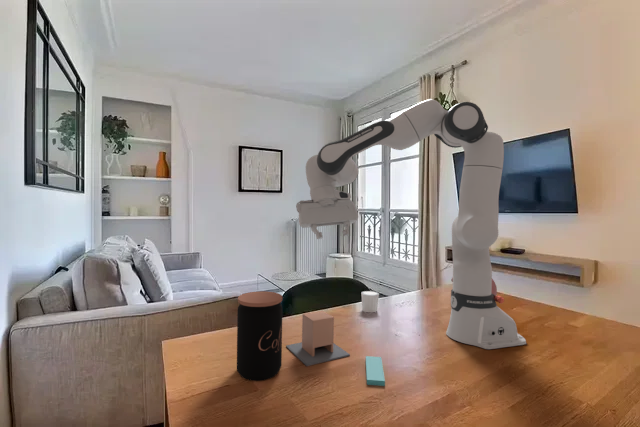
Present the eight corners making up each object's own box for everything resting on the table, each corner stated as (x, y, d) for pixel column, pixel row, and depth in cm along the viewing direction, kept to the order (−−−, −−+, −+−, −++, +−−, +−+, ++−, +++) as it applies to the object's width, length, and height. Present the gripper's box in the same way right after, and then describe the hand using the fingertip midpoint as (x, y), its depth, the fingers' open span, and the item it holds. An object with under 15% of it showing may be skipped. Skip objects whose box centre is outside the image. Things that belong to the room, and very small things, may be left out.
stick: (381, 363, 86) (381, 357, 86) (384, 388, 74) (384, 381, 74) (365, 362, 86) (365, 356, 86) (366, 386, 74) (366, 379, 74)
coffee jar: (260, 387, 72) (262, 305, 72) (226, 373, 78) (227, 298, 77) (290, 368, 81) (291, 295, 81) (257, 357, 87) (258, 289, 87)
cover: (321, 343, 95) (322, 310, 95) (333, 351, 90) (333, 317, 90) (301, 347, 92) (302, 313, 92) (312, 356, 87) (313, 320, 87)
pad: (325, 338, 100) (325, 337, 100) (349, 355, 88) (349, 354, 88) (286, 346, 93) (286, 345, 93) (306, 366, 82) (306, 364, 82)
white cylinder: (378, 314, 124) (378, 295, 124) (360, 312, 126) (360, 294, 125) (378, 308, 131) (379, 291, 131) (361, 307, 132) (361, 290, 132)
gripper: (297, 196, 106) (305, 236, 101) (354, 193, 113) (364, 230, 108) (293, 205, 112) (300, 243, 106) (348, 201, 118) (357, 237, 113)
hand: (333, 236), depth 107 cm, fingers open, 8 cm apart
